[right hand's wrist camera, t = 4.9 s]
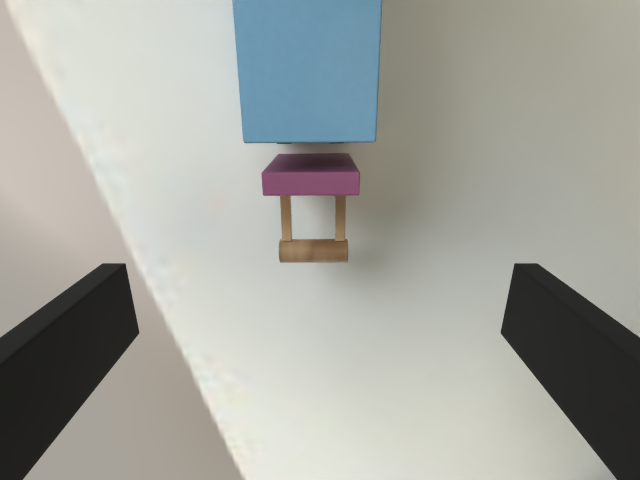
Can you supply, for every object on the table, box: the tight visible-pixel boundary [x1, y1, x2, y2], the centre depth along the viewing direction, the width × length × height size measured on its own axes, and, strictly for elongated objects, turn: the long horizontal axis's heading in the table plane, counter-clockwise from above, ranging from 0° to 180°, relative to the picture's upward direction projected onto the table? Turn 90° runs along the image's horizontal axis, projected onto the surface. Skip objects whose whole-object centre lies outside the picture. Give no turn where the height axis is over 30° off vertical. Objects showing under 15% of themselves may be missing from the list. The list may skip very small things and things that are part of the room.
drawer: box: [262, 142, 360, 263], centre depth 20 cm, size 25×5×8 cm, turn 0°
